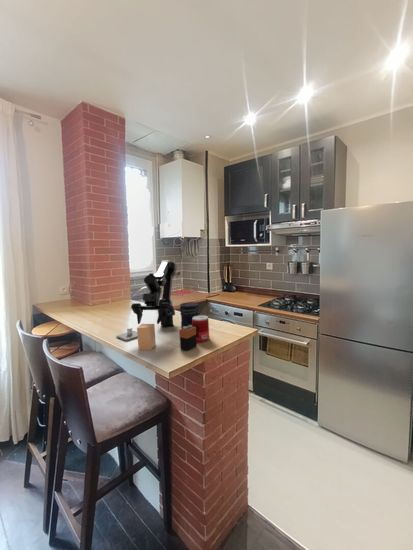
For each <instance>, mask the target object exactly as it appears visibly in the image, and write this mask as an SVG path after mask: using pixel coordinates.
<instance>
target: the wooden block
mask: <svg viewBox="0 0 413 550" xmlns="http://www.w3.org/2000/svg"><path fill="white" fill-rule="evenodd" d="M155 329H156V327H155V323H141V324H139V326H137V327H136V332H137V336H138V338H137V346H138V350H139V351H140V350H142V351H143V350H144V351H145V350H147V351H151V350H153V349H154V348H155V346H156V343H157V341H156V330H155Z"/></svg>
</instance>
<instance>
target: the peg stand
mask: <svg viewBox="0 0 413 550" xmlns="http://www.w3.org/2000/svg"><path fill="white" fill-rule="evenodd" d="M115 337H117V339H119V338H120V339H119V340H121V339H122V341H124V340H125V341H124V342H126V341H127V342H129V340H130V341H133V340H135V339H138V336H137V330H133V327H127V328H126V332H124V333H120V334H118V335H116V336H115ZM132 339H133V340H132Z"/></svg>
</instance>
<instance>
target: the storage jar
mask: <svg viewBox="0 0 413 550" xmlns="http://www.w3.org/2000/svg"><path fill="white" fill-rule="evenodd" d="M179 306H180V308H179V310H180V311H179V312H180V319H181V321H180V329H182V328H183V327H185V326H188V325H192V318H193V317H194V316H199V313H200V308H199V302H195V301H189V302H187V301H186V302H183V303H180V304H179ZM192 326H193V325H192Z"/></svg>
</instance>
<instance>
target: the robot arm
mask: <svg viewBox="0 0 413 550" xmlns="http://www.w3.org/2000/svg"><path fill="white" fill-rule="evenodd" d="M177 269H178V266H177V264H176V263H175V262H172V261H170V260H161V261H160V265H159V266H158V269H157V271H156V272H155V273H154V272H153V273H149V274H148V275H146V276H145V277H144V278H143V283H144V284H145V286H146V289H147V290H148V293H143V294H142V302H143V301H144V303H143V304H144V305H142V304H141V303H140V302H139V303H138V302H137V303H136V302H134V303H132V304H131V307H130V309H131V310H132V312H133V314H135V315H136V319H137V324H138V325H141V324H140V323H141V321H142V318H143V311H157V314H158V316H157V321H156V324H157V325H159V324H160V326H161V327H162V328H167V327H169V328H170V327H174V326H175V325H174V318H173V316H175V315H176V311H175V307H174V305H173V301H172V300H171V297H172V289H173V288H172V286H173V278H174V277H175V275H176V273H177ZM162 287H163V291H162ZM161 294H162V298H161Z"/></svg>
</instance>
